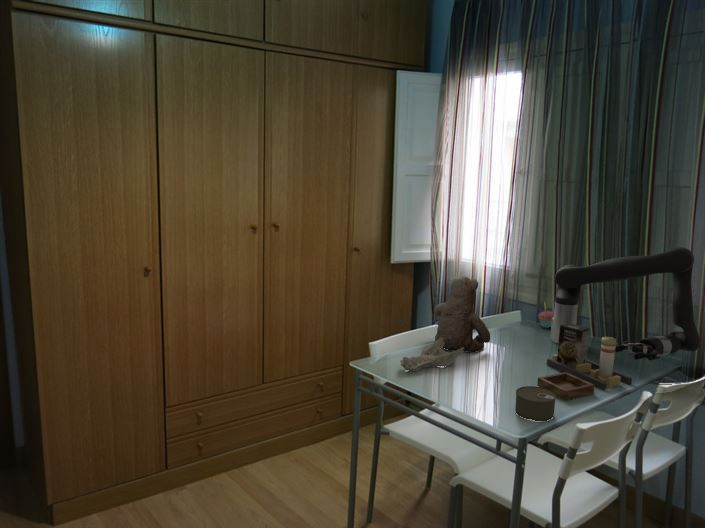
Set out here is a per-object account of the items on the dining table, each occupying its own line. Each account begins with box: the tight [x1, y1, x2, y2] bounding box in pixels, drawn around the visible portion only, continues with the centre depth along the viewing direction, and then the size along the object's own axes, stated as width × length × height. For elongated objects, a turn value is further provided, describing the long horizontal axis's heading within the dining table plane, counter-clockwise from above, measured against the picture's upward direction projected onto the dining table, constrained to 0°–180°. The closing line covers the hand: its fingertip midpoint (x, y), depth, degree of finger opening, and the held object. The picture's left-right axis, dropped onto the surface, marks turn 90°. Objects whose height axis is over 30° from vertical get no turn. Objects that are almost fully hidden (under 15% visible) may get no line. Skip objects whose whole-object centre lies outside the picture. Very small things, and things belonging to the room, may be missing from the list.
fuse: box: [598, 336, 617, 383], centre depth 214 cm, size 5×5×16 cm
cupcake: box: [537, 300, 554, 329], centre depth 281 cm, size 9×8×12 cm
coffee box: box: [556, 323, 591, 369], centre depth 228 cm, size 9×6×16 cm
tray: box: [536, 372, 596, 401], centre depth 207 cm, size 13×13×3 cm
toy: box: [433, 276, 491, 353], centre depth 249 cm, size 26×20×30 cm
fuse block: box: [546, 353, 633, 391], centre depth 223 cm, size 28×14×3 cm, turn 26°
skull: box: [399, 337, 465, 372], centre depth 228 cm, size 12×8×25 cm
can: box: [514, 385, 557, 421], centre depth 188 cm, size 12×12×7 cm
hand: (624, 352), depth 218 cm, fingers open, 8 cm apart
